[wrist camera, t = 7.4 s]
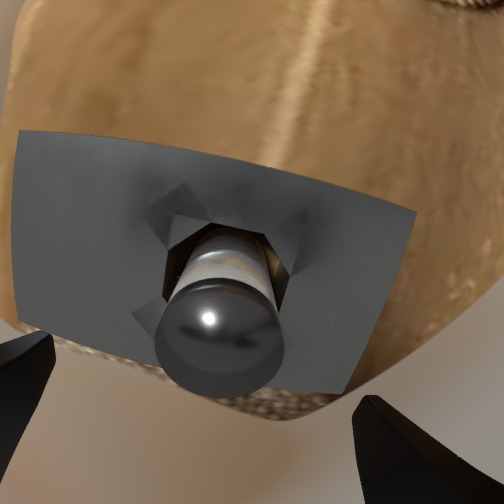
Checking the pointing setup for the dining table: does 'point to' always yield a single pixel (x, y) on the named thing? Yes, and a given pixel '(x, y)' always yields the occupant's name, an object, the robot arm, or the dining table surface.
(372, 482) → the robot arm
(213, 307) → the metal cylinder peg
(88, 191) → the jig
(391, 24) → the dining table surface
